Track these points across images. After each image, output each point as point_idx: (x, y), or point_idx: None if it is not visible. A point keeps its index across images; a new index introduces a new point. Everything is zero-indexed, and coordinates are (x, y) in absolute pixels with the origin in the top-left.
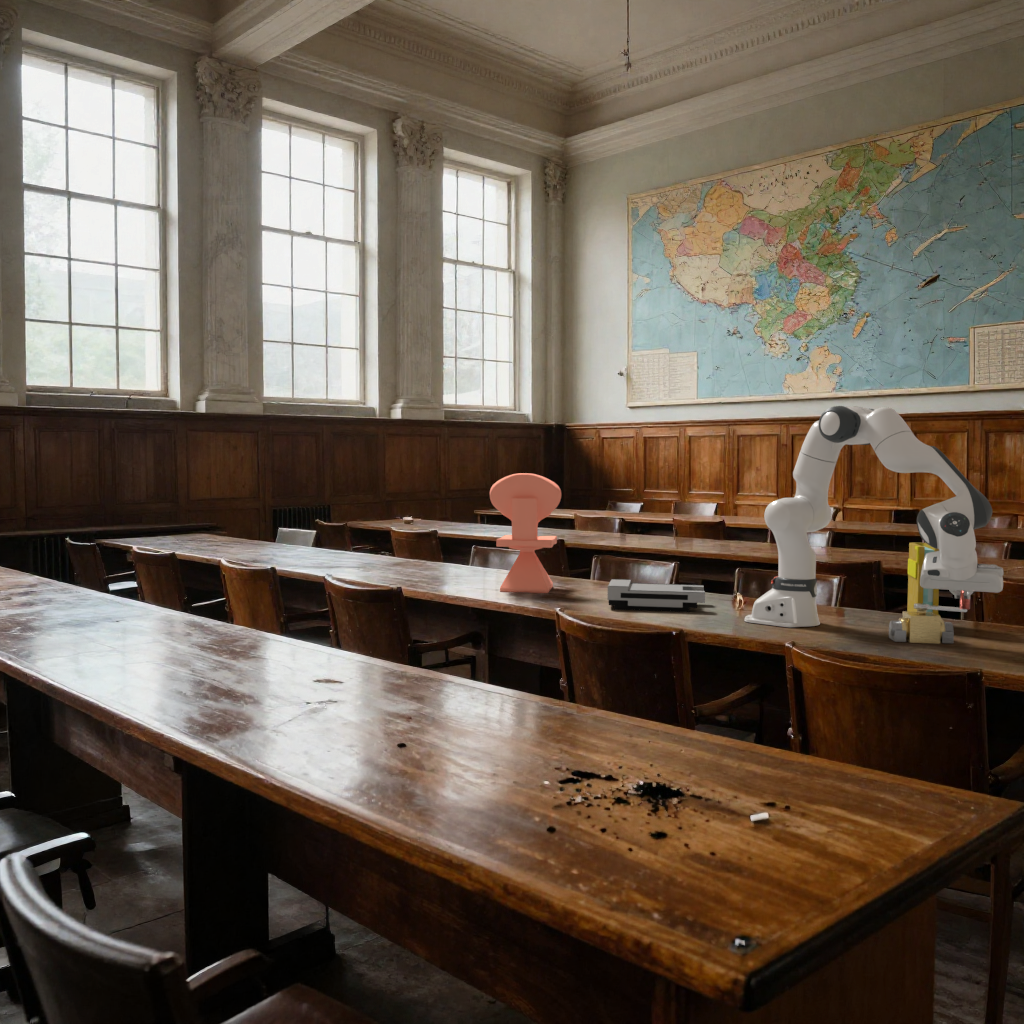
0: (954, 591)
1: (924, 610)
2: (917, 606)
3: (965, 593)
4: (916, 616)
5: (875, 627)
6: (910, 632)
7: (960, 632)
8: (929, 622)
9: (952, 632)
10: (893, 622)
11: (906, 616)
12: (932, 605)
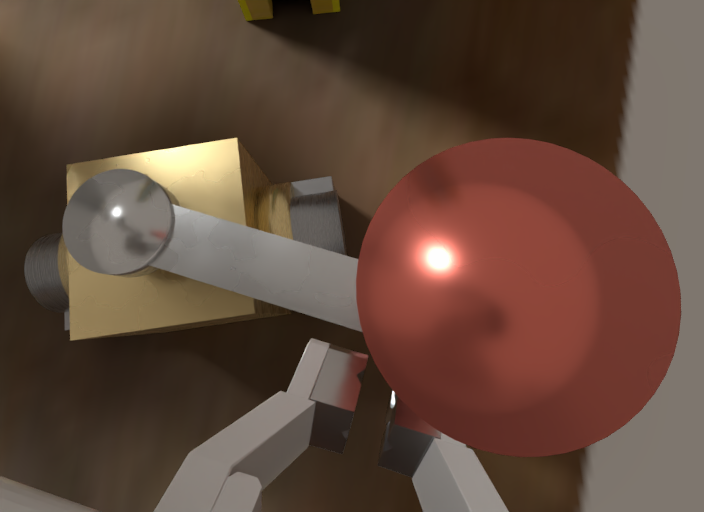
0: (267, 477)
1: None
2: (86, 262)
3: (403, 453)
4: (109, 334)
5: (100, 4)
6: (139, 334)
7: (422, 7)
8: (204, 322)
9: None
10: (35, 290)
11: None
12: (193, 215)
